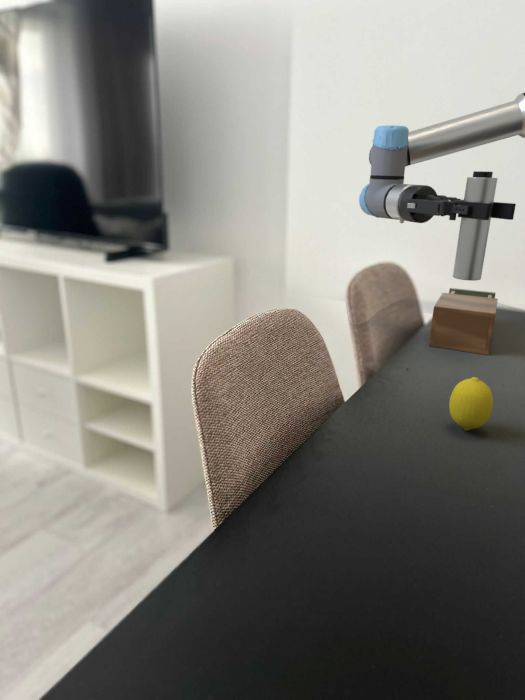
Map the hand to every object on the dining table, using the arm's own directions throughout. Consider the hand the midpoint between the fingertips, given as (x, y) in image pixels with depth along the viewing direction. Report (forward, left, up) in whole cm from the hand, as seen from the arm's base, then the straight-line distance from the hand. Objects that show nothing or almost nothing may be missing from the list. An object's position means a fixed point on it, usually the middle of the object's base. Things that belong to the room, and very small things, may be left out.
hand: (500, 211), depth 88 cm
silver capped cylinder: (0, -5, -12) cm, 14 cm away
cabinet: (-8, -12, -28) cm, 32 cm away
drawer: (-18, -20, -27) cm, 38 cm away
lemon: (+22, +20, -28) cm, 41 cm away
